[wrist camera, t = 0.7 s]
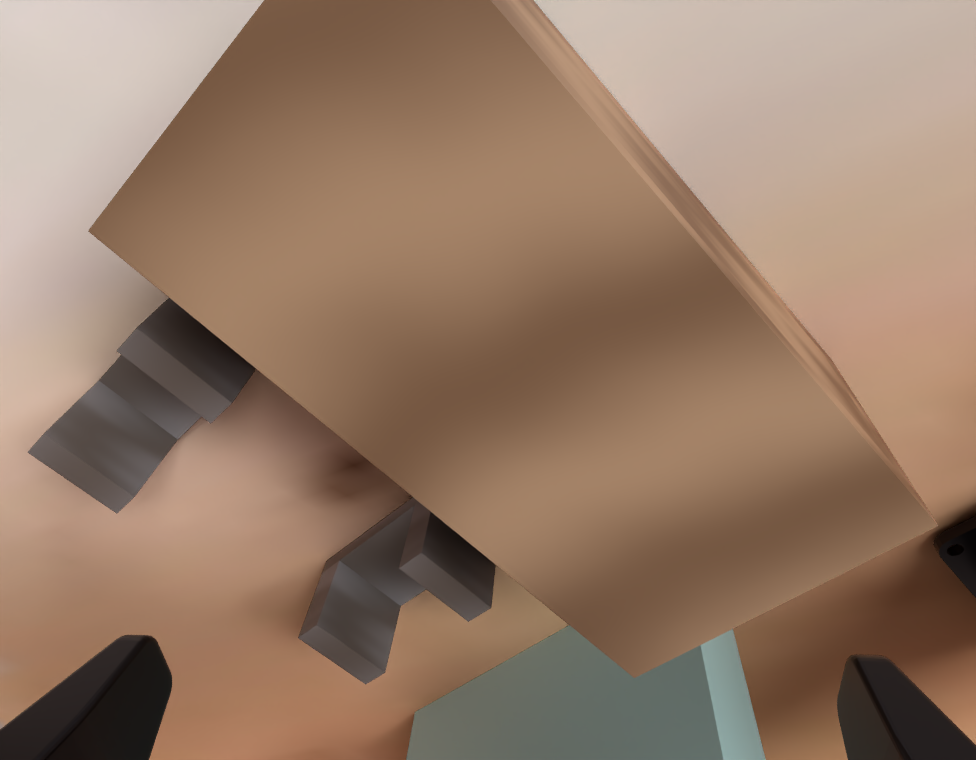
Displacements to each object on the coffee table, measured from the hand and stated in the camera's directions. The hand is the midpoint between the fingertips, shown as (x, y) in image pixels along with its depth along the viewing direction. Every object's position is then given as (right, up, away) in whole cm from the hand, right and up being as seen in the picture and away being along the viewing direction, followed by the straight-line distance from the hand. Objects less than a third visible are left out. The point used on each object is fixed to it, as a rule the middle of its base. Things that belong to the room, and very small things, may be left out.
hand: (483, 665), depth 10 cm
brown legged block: (-2, +4, +13) cm, 14 cm away
